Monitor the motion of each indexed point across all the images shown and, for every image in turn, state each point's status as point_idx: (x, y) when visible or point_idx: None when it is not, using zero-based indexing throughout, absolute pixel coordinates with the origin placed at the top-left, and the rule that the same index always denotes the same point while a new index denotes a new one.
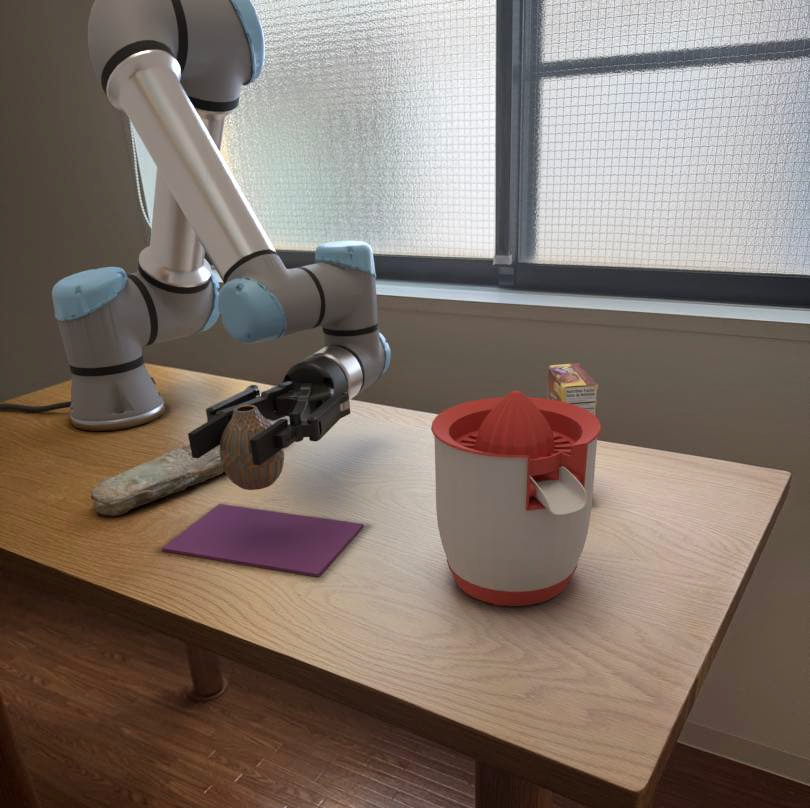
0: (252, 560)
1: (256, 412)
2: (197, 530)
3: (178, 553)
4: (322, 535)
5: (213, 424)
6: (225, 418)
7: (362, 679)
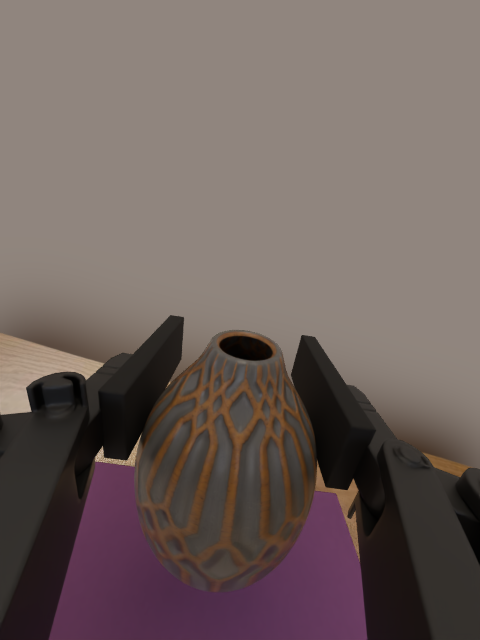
0: None
1: (206, 349)
2: (341, 574)
3: None
4: (63, 626)
5: (320, 375)
6: (339, 419)
7: (79, 357)
